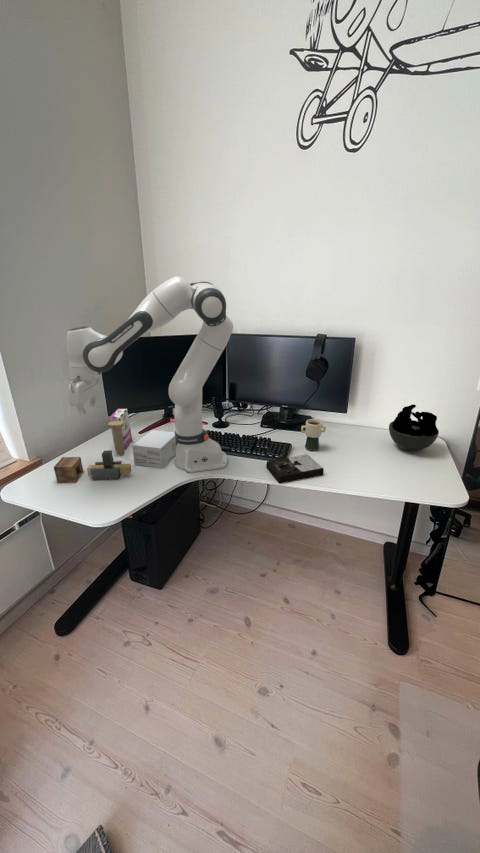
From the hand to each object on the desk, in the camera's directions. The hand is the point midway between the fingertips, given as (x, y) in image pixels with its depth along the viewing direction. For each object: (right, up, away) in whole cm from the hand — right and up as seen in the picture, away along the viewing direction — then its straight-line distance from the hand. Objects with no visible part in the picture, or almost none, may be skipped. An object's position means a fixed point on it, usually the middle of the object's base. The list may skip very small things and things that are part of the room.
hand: (87, 410), depth 131 cm
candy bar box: (+2, -15, +34) cm, 38 cm away
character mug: (+89, -16, +30) cm, 96 cm away
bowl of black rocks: (+133, -16, +29) cm, 137 cm away
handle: (+3, -19, +26) cm, 32 cm away
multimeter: (+78, -25, +11) cm, 83 cm away
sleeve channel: (+4, -26, +8) cm, 27 cm away
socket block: (-10, -26, +8) cm, 29 cm away
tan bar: (+5, -24, +8) cm, 26 cm away
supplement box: (+21, -20, +23) cm, 37 cm away
